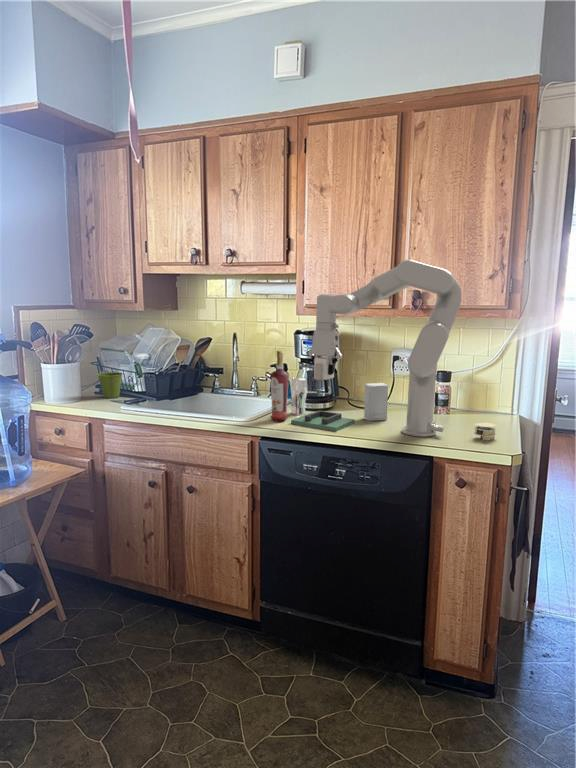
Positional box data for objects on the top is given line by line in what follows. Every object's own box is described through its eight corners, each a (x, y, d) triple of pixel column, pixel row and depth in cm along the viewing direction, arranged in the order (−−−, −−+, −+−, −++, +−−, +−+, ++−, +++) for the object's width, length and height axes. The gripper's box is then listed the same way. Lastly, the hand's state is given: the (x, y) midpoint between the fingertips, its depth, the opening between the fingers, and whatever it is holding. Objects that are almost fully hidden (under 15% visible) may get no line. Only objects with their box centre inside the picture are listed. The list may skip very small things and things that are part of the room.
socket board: (354, 423, 210) (355, 414, 209) (336, 431, 196) (336, 422, 196) (311, 416, 220) (311, 407, 220) (291, 423, 207) (291, 415, 206)
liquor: (291, 420, 213) (293, 351, 208) (280, 423, 207) (281, 352, 202) (278, 417, 217) (278, 349, 213) (266, 420, 212) (266, 351, 207)
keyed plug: (333, 377, 207) (334, 357, 205) (323, 380, 200) (324, 359, 198) (322, 376, 209) (323, 356, 208) (312, 379, 202) (312, 358, 201)
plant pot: (116, 393, 261) (115, 371, 259) (128, 397, 253) (127, 374, 251) (93, 396, 252) (92, 373, 251) (105, 400, 244) (104, 376, 243)
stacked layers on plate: (482, 434, 197) (483, 420, 196) (503, 440, 189) (505, 425, 188) (465, 438, 191) (466, 423, 190) (486, 444, 184) (487, 429, 183)
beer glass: (288, 412, 227) (288, 377, 224) (302, 411, 229) (303, 377, 227) (293, 415, 220) (294, 380, 218) (309, 414, 223) (310, 379, 220)
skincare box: (381, 417, 220) (383, 382, 218) (387, 420, 215) (389, 384, 212) (362, 417, 219) (364, 382, 216) (367, 421, 213) (369, 385, 210)
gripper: (350, 327, 200) (348, 374, 203) (311, 325, 209) (310, 370, 212) (341, 328, 194) (339, 377, 197) (301, 326, 203) (300, 372, 206)
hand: (324, 373), depth 205 cm, fingers closed on keyed plug, 4 cm apart
